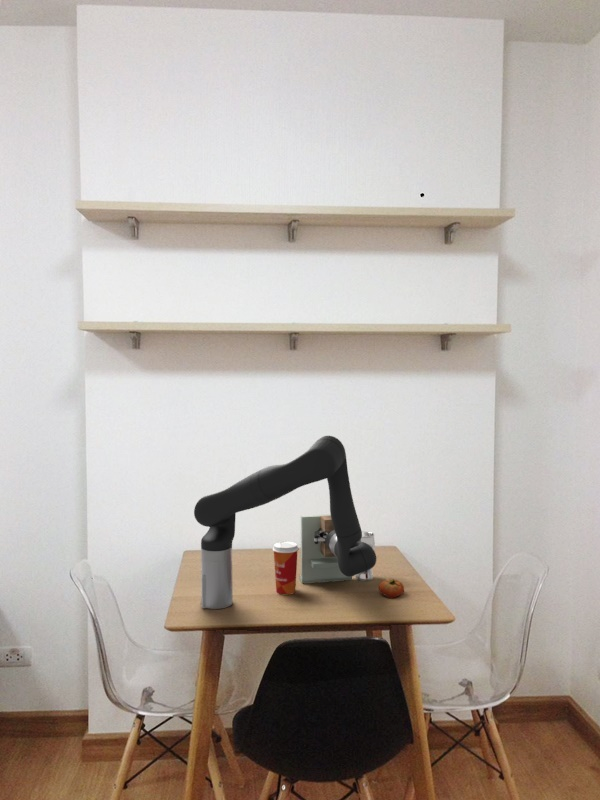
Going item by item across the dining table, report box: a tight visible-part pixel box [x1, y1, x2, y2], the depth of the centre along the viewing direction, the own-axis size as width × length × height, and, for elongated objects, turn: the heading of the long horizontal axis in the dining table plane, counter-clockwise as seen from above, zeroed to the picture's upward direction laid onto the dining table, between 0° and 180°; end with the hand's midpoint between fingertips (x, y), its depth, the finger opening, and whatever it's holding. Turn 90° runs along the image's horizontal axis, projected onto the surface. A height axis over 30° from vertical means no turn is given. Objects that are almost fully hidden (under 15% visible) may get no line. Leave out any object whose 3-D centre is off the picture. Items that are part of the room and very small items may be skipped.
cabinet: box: [320, 515, 336, 557], centre depth 204 cm, size 5×7×12 cm
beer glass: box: [354, 531, 376, 582], centre depth 212 cm, size 7×7×15 cm
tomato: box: [378, 578, 405, 599], centre depth 197 cm, size 8×7×7 cm
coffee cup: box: [272, 541, 300, 595], centre depth 199 cm, size 8×8×15 cm
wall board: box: [298, 513, 353, 584], centre depth 208 cm, size 17×10×22 cm, turn 101°
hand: (328, 530), depth 207 cm, fingers closed on cabinet, 5 cm apart
